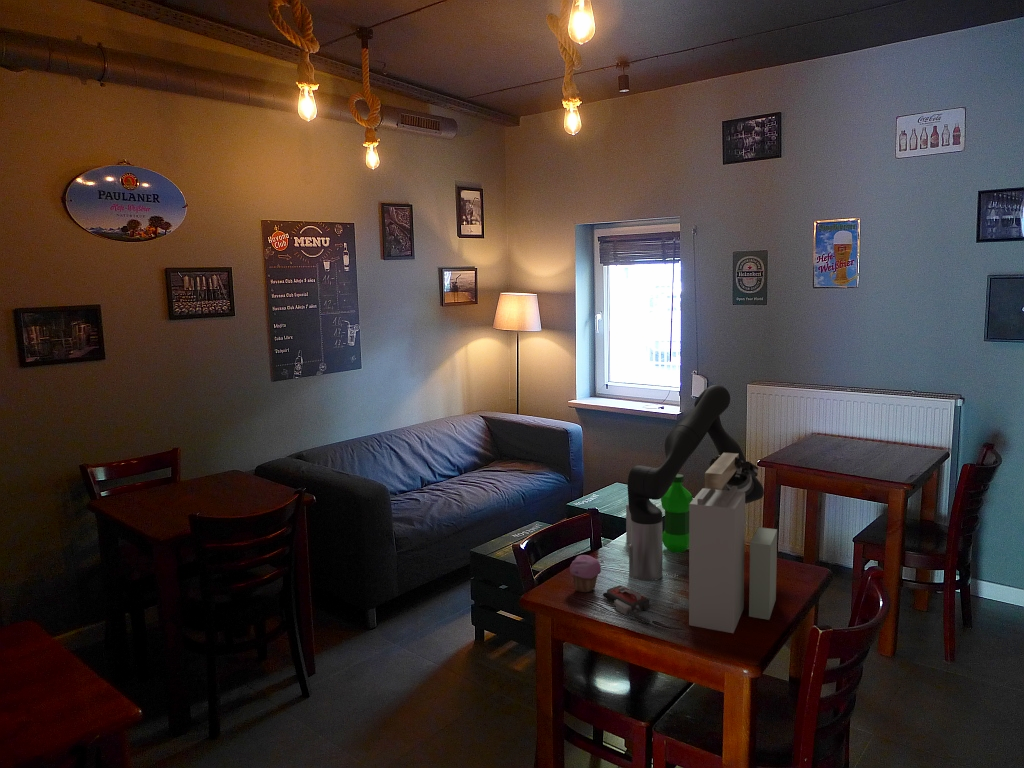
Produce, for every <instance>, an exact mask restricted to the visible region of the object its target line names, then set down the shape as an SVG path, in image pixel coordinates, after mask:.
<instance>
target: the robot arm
mask: <svg viewBox="0 0 1024 768" xmlns="http://www.w3.org/2000/svg"><path fill="white" fill-rule="evenodd" d="M730 403H731V395H730V392H729V390H728V389H727V387H724V386H722V385H719V384H714V385H710V386H708V387H706V388H705V389H704V390H703V391H702V392H701V394H699V395H698V397H697V398H696V399H695V401H694V403H693V404H694V406H693V409H691V410H690V411H688V413H687V414H686V415H684V416H683V418H682V419H680V420H679V422H678V423H676V425H674V427H673V428H672V429H671V431H670V432H669V433H668V434H667V436H666V437H665V440H664V452H665V453H664V454H665V458H664V460H663V462H662V463H661V464H660V466H658V467H653V466H652V467H651V466H648V465H647V466H646V465H635V466H633V467H631V469H630V471H629V473H628V475H627V497H628V500H627V502H628V504H629V511H630V514H631V543H629V545H628V576H629V577H632V578H635V579H636V580H641V581H647V582H648V581H649V582H651V581H657V580H660V579H661V578H662V577H663V573H664V572H663V571H664V570H663V569H664V568H663V566H664V565H663V558H664V557H663V553H664V552H663V548H664V547H663V546H664V544H663V538H662V534H663V511H662V510H661V509H660V508H659V507H658V506H657V505H656V504H655V505H656V506H655V505H654V503H653V502H652V501H651V500H653V501H654V500H656V501H657V500H661V498H662V497H663V496H664V495H665V494H666V492H667V491H668V489H669V488H670V486H672V482H673V481H674V479H675V477H676V475H677V474H679V472H680V471H681V469H682V468H683V467H684V465H685V464H686V462H687V461H688V459H689V458H690V457H691V455H692V454H693V453H694V452H695V451H696V450H697V448H698V446H700V444H701V443H702V441H703V439H704V437H705V436H706V435H707V434H708V436H709V437H710V439H711V441H712V443H713V446H715V448H716V451H717V453H718V455H717V456H715V458H712V459H710V462H709V463H708V469H709V468H710V467H711V466H712V465H713V464H714V462H715V461H716V460H717V459H718V458H719V457H720V456H721V455H722V454H723V453H735V454H739V458H738V457H735V466H736V468H737V470H736V472H735V473H734V474H733V476H732V477H731V478H730V479H729V481H728V482H727V483H726V485H725V486H727V487H726V488H727V489H726V491H729V490H730V489H731V487H732V486H737V492H745V505H747V504H749V503H752V502H756V501H758V500H761V499H762V498H763V497H764V494H765V489H764V487H763V485H762V483H761V482H760V480H759V479H758V478H757V477H758V476H759V475H758V473H759V467H758V466H757V465H755V464H754V463H751V462H750V461H747V460H746V458H745V455H744V453H743V450H742V448H741V446H740V444H739V443H738V442H737V441H736V440H735V439H734V438H733V437H732V436H731V435H730V434H729V433H728V432H727V431H726V430H725V428H724V427H723V424H722V421H721V418H720V416H721V415H722V414H723V413H724V412H725V411H726V410H727V409H728V408H729V406H730Z"/></svg>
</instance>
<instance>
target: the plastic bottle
mask: <svg viewBox="0 0 1024 768" xmlns="http://www.w3.org/2000/svg"><path fill="white" fill-rule="evenodd" d="M684 478H685V477H684V474H681V473H680V474H679V473H678V474H677V475H676V477H675V479H674V481H673V482H672V484H671V486H670V488H669V489H668V491H667V492H666V494H665V495H664V496H663V497H662V498H661V499H660V503H661V507H662V509H663V510H664V530H663V531H662V538H663V546H664V547H665V548H666V549H668V550H669V552H671V553H676V554H679V553H684V552H685V551H686V550H689V504H690V502H691V501H692V500H693V499H694V497H693V496H692V493H691V492H690V491H689V490H688V489H686V487H684V486H683V482H684V481H685V479H684Z"/></svg>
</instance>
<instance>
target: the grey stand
mask: <svg viewBox="0 0 1024 768" xmlns="http://www.w3.org/2000/svg"><path fill="white" fill-rule="evenodd" d="M745 522H746V503H745V492H737V486H732V487H731V489H730V490H729V491H727V489H726V490H725V489H722V490H716V489H706V488H705V487H703V488H701V490H700V491H699V492H698V493H697V494H696V495H695V497H693V500H692V501H691V502H690V504H689V548H688V551H689V552H688V556H689V557H688V565H689V567H688V572H689V573H688V575H689V577H688V626H691V627H697V628H701V629H702V628H703V629H707V630H712V631H718V632H723V633H724V632H725V633H731V634H734V633H735V631H736V628H737V626H738V624H739V620H740V618H741V617H742V614H743V611H744V610H745V609H744V608H745V606H744V605H745V603H744V602H745V599H744V598H745V545H746V544H745V541H746V540H745V537H746V536H745V532H746V531H745V529H746V523H745Z"/></svg>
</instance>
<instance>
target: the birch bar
mask: <svg viewBox="0 0 1024 768" xmlns="http://www.w3.org/2000/svg"><path fill="white" fill-rule="evenodd" d="M735 457H738V458H739V454H735V453H723V454H722V455H721V456H720V457H719V458H718V459H717V460H716V461H715V462H714V464H713V465H712V466H711V467H710V468H709V467H708V469H707V470H706V471H705V472H704V488H705V489H716V490H724V487H725V486H727V485H726V483H727V482H728V481H729V479H730V478H731V477H732V476H733V474H734V473H735V472H736V470H737V468H736V466H735Z"/></svg>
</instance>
